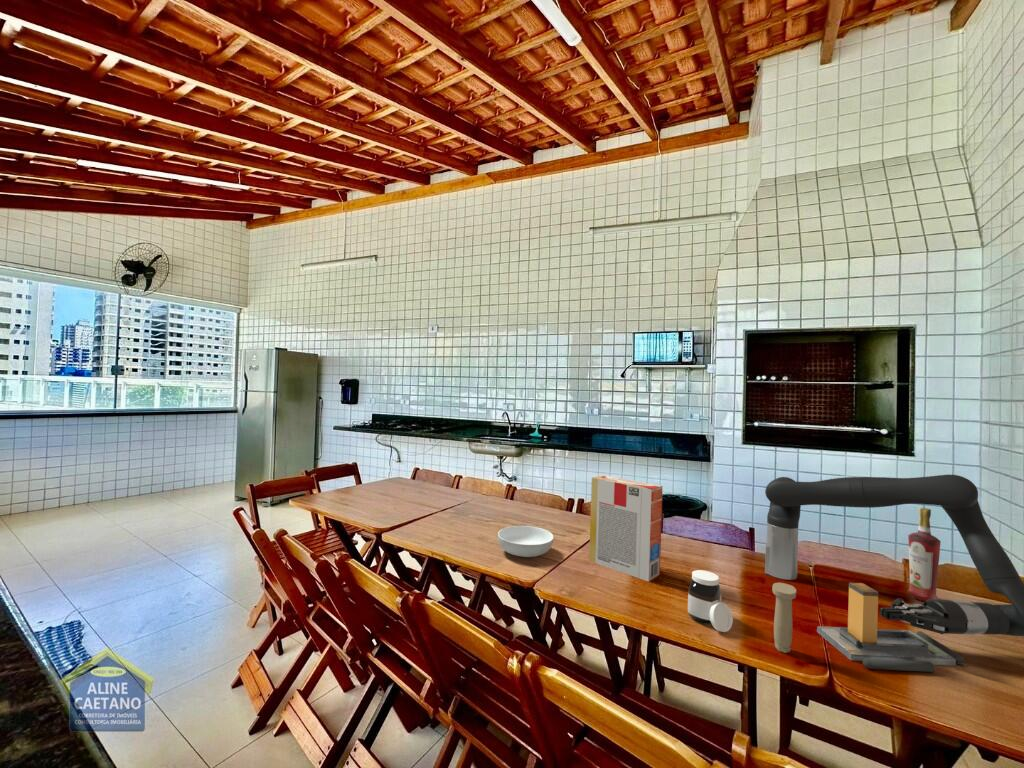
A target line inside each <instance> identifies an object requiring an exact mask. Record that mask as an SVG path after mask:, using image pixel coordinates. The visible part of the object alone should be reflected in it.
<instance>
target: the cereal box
mask: <svg viewBox="0 0 1024 768" xmlns="http://www.w3.org/2000/svg"><path fill="white" fill-rule="evenodd" d="M590 491H591V492H590V494H591V495H590V523H589V555H588V556H589V557H588V558H589V559H588V560H589V561H590V562H592V563H594V564H598V565H601V566H603V567H606V568H609V569H611V570H614V571H618V572H620V573H623V574H626V575H628V576H632V577H633V578H634V577H635V578H637V579H639V580H642V581H646V582H649V583H650V582H651V581H653V580H654V579H656V578H657V577H659V576H660V575H661V552H662V551H661V550H662V549H661V548H662V547H661V546H662V519H663V518H662V515H663V514H662V513H663V485H659V484H655V483H648V482H645V481H638V480H633V479H627V478H622V477H617V476H613V475H607V474H601V475H597V476H592V477H591V490H590Z"/></svg>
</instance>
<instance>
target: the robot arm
mask: <svg viewBox="0 0 1024 768" xmlns="http://www.w3.org/2000/svg"><path fill="white" fill-rule="evenodd" d="M764 493H765V496H766V499H767V500H768V502H769V509H768V511H767V515H766V516H767V518H766V519H767V520H766V545H765V553H764V554H765V557H764V559H765V560H764V562H765V563H764V574H766V575H769V576H771V577H774V578H777V579H780V580H788V581H793V580H797V578H798V557H799V556H798V555H799V554H798V553H799V552H798V551H799V523H800V518H801V507H802V506H810V505H811V506H814V505H815V506H830V507H841V508H842V507H845V508H866V509H867V508H869V509H870V508H872V509H873V508H885V507H894V506H901V505H914V504H915V505H930V506H933V505H934V506H940V507H941V508H942V509H943V510H944V512H945V513H946V514H947V515H948V517H949V518H950V519H951V521H952V523H953V524H954V526H955V527H956V529H957V531H958V532H959V535H960V536H961V538H962V540H963V543H964V545H965V547H966V549H967V553H968V554H969V556H970V559H971V560H972V562H973V565H974V566H975V568H976V570H977V573H978V575H979V576H980V578H981V580H982V581H983V582H982V583H984V586H985V587H986V588H987V590H988V591H990V592H991V593H993V594H994V593H995V594H998V595H1003V596H1004V597H1005V598H1006V599H1007V600H1008V601H1009V602H1010V603H1011V604H1010V603H1008V604H1005V603H1004V604H992V603H987V602H980V601H979V602H978V601H975V602H974V601H964V600H958V599H956V600H955V599H939V598H938V599H929V600H927V601H926V602H923V603H922V604H920V603H910V604H909V603H905V601H904V599H902V598H900V597H899V598H896V599H895V600H893V601H892V602H891V603H890V605H891V607H883V606H882V607H880V608H879V616H880V617H882V618H883V619H885V620H887V621H901V622H902V623H908V624H909V625H910V626H912V627H915V628H918V629H922V630H926V631H929V632H932V633H937V634H940V635H945V634H947V635H948V634H952V635H971V636H973V635H1003V636H1004V635H1005V636H1014V637H1015V636H1016V637H1024V582H1023V580H1022V577H1021V576H1020V573H1019V572H1018V571H1017V569H1016V568H1015V566H1014V564H1013V562H1012V560H1011V559H1010V557H1009V556H1008V554H1007V552H1006V551H1005V549H1004V548H1003V546H1002V545H1001V544H1000V542H999V541H998V540H997V538H996V537H995V535H994V534H993V532H992V530H991V529H990V527H989V525H988V524H987V521H986V519H985V517H984V515H983V512H982V509H981V507H980V503H979V490H978V488H977V486H976V485H975V484H974V482H973V481H971V480H970V479H968V478H966V477H965V476H961V475H958V474H957V475H956V474H940V475H931V476H930V475H929V476H920V477H919V476H918V477H889V476H888V477H887V476H886V477H883V476H878V477H877V476H848V477H847V476H846V477H836V478H835V477H834V478H829V479H824V480H817V481H796V480H794V479H793V478H791V477H789V476H788V477H787V476H781V477H777V478H775V479H773V480H771V481H770V482H769V483H768V484H767V485H766V488H765V490H764Z"/></svg>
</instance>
